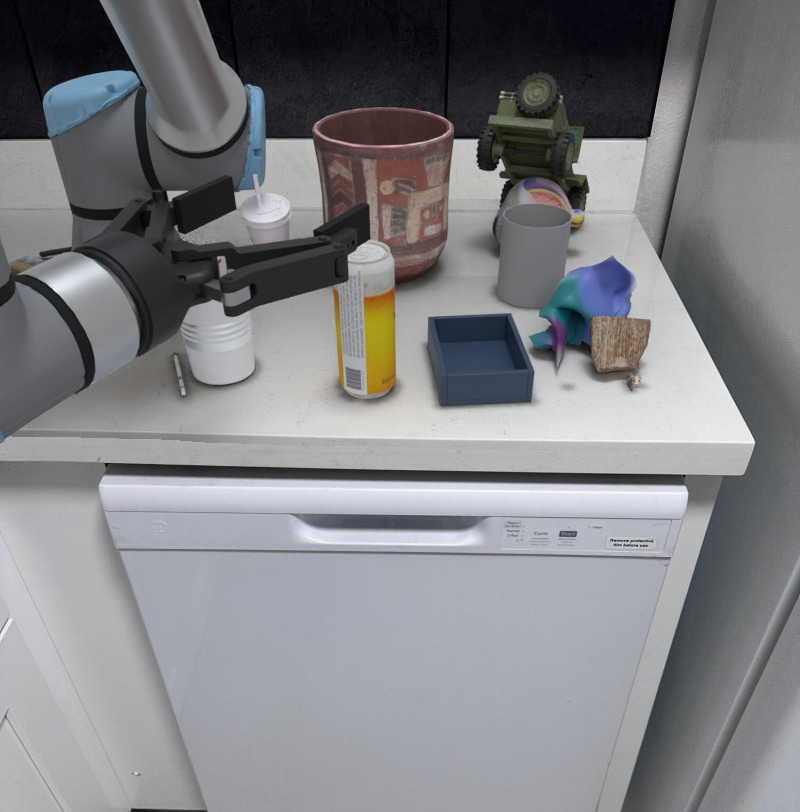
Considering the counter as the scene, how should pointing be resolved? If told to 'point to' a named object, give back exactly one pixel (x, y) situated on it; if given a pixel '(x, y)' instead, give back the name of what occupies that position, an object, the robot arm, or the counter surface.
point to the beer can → (367, 322)
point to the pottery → (390, 178)
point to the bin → (479, 360)
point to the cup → (532, 253)
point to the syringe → (179, 373)
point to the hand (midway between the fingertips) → (296, 205)
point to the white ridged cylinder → (218, 342)
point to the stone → (618, 342)
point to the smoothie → (266, 216)
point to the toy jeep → (534, 139)
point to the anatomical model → (536, 200)
